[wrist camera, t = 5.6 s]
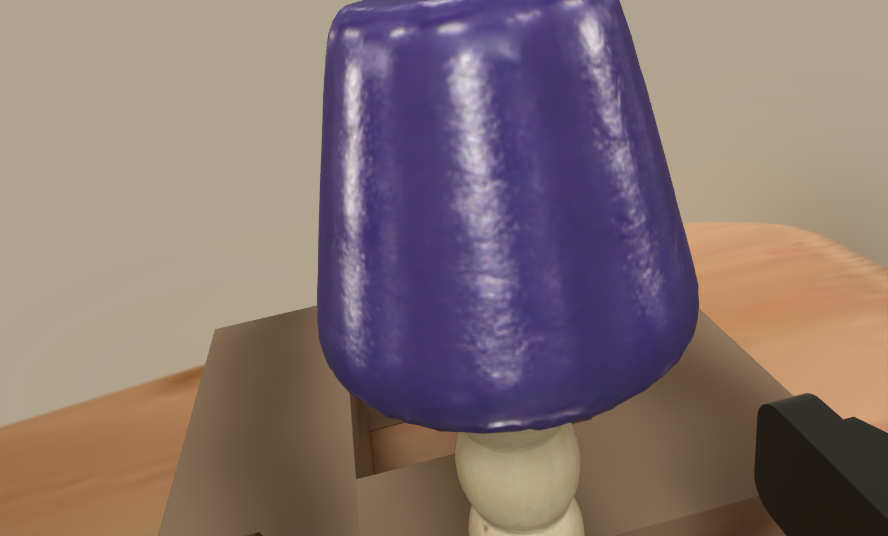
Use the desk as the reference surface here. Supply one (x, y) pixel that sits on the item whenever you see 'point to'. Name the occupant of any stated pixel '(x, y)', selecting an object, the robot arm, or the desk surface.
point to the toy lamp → (497, 236)
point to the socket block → (436, 481)
